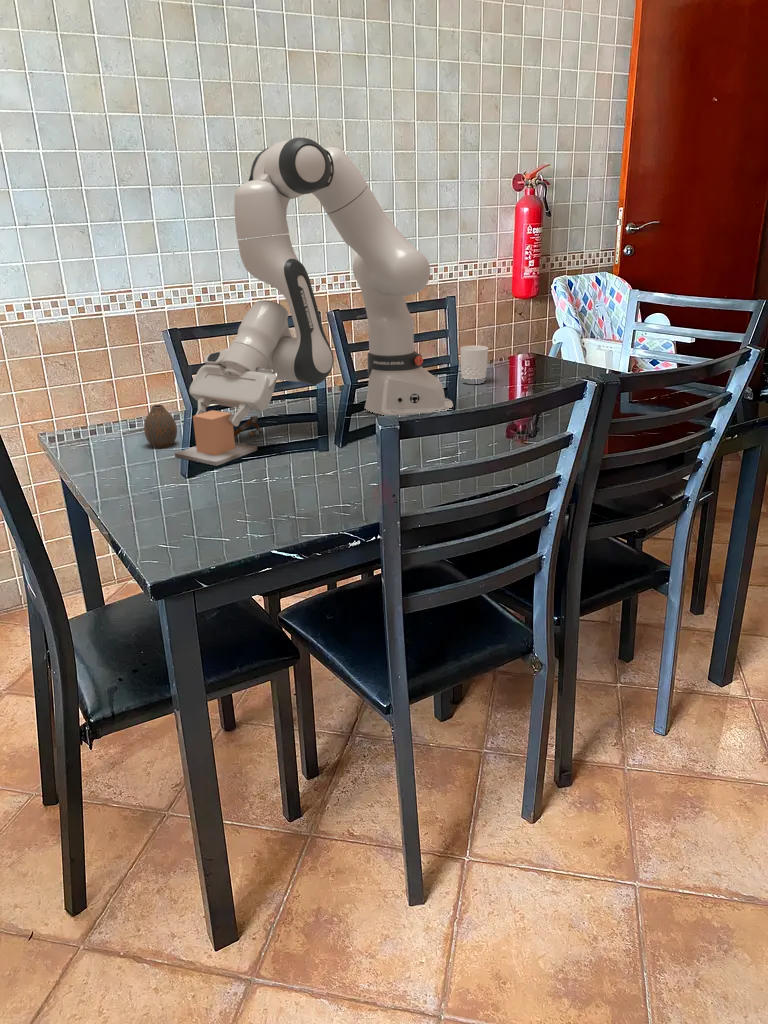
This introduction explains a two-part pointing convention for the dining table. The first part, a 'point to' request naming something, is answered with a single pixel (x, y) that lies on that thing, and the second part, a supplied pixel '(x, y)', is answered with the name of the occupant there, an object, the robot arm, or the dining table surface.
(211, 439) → the tan cardboard cube
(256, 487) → the dining table surface
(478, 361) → the white cup
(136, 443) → the dining table surface
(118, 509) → the dining table surface
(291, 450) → the dining table surface
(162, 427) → the vase
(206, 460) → the base with wooden post
